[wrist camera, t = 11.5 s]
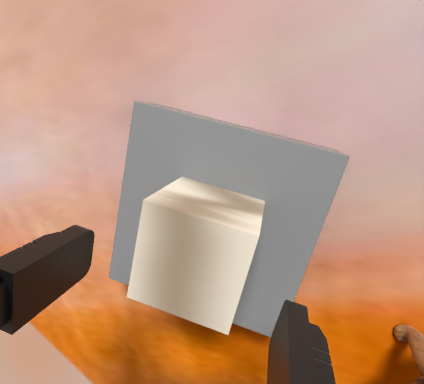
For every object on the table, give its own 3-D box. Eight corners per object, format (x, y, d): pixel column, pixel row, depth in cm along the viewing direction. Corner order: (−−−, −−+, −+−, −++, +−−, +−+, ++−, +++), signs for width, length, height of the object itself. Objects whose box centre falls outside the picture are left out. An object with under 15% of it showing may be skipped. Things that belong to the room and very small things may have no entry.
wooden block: (265, 200, 16) (259, 236, 11) (241, 276, 17) (228, 335, 13) (181, 176, 17) (143, 199, 12) (166, 250, 18) (126, 297, 13)
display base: (337, 150, 17) (349, 156, 14) (278, 309, 21) (278, 340, 18) (155, 103, 19) (134, 101, 16) (130, 257, 22) (108, 277, 20)
